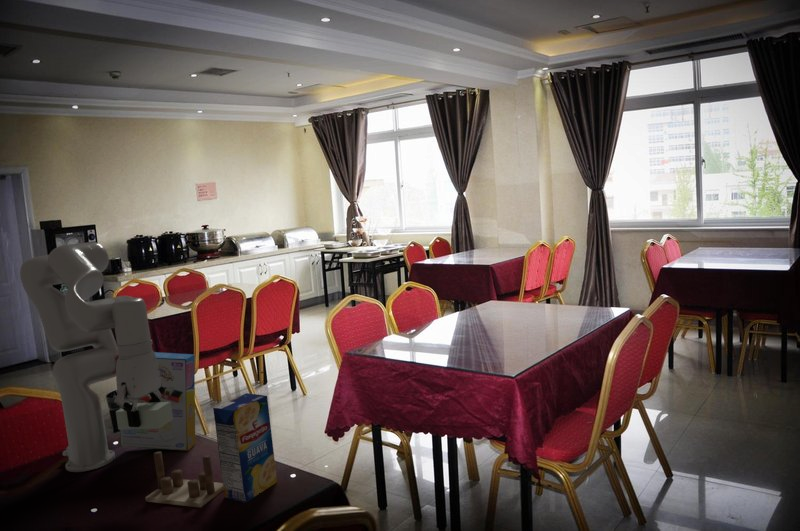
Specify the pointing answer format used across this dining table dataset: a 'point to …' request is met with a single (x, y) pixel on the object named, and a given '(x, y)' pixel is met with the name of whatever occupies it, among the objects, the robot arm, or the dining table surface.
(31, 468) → the dining table surface
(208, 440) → the dining table surface
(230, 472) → the beverage box
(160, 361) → the game box
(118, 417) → the pale green rectangular block
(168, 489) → the rack
